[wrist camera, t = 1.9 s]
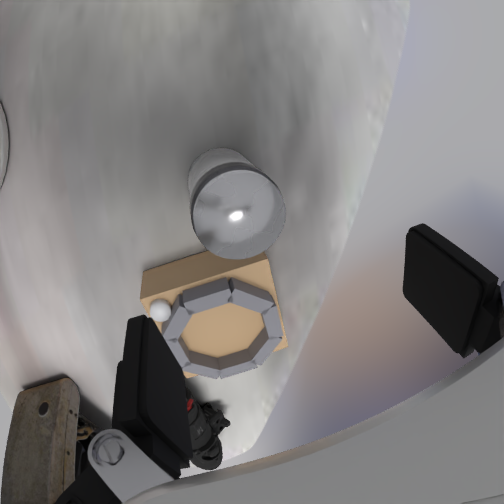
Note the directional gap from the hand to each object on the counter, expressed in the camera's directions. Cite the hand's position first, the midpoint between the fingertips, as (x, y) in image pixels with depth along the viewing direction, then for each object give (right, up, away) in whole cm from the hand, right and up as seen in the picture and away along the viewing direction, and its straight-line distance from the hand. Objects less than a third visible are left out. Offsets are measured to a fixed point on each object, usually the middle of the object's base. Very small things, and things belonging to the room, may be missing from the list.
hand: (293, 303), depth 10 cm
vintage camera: (-24, -20, +22) cm, 39 cm away
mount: (-5, -3, +18) cm, 19 cm away
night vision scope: (-10, -18, +26) cm, 33 cm away
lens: (-4, +7, +13) cm, 15 cm away
